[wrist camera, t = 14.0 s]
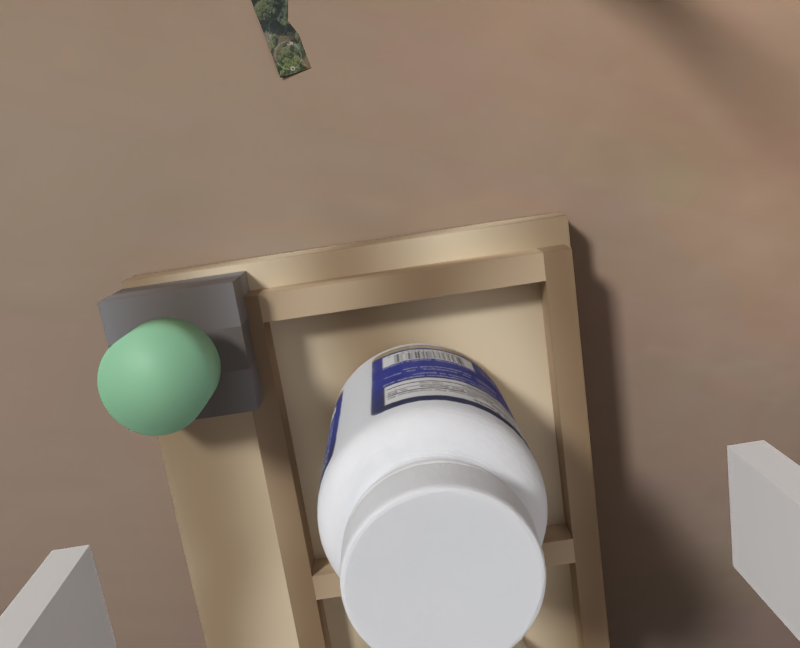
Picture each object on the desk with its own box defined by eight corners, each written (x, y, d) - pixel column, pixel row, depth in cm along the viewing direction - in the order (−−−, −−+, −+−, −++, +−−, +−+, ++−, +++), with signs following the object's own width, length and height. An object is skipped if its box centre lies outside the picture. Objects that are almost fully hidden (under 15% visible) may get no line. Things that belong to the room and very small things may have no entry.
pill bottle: (427, 534, 24) (452, 753, 15) (297, 433, 23) (245, 602, 14) (542, 412, 23) (638, 569, 14) (412, 302, 22) (429, 398, 13)
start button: (154, 397, 22) (111, 443, 18) (133, 309, 21) (85, 339, 18) (243, 384, 22) (217, 427, 18) (225, 295, 21) (195, 323, 18)
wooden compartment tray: (257, 813, 27) (241, 898, 24) (135, 275, 23) (95, 294, 20) (612, 763, 27) (642, 842, 24) (557, 212, 23) (585, 221, 20)
